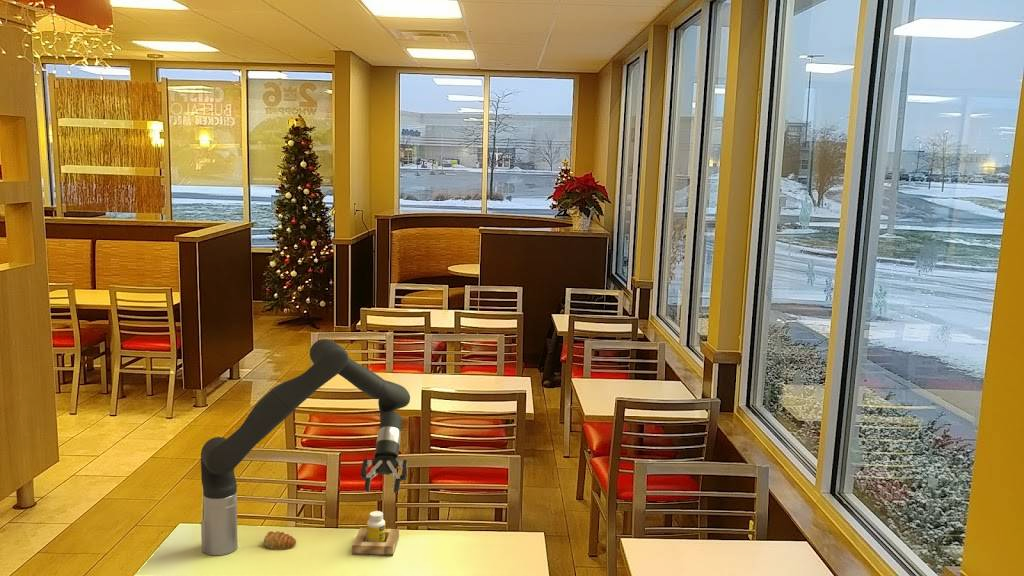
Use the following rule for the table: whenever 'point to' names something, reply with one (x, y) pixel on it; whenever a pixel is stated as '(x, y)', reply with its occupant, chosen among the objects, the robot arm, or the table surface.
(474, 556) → the table surface
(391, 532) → the can holder
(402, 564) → the table surface
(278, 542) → the pastry
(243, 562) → the table surface
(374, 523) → the supplement bottle
